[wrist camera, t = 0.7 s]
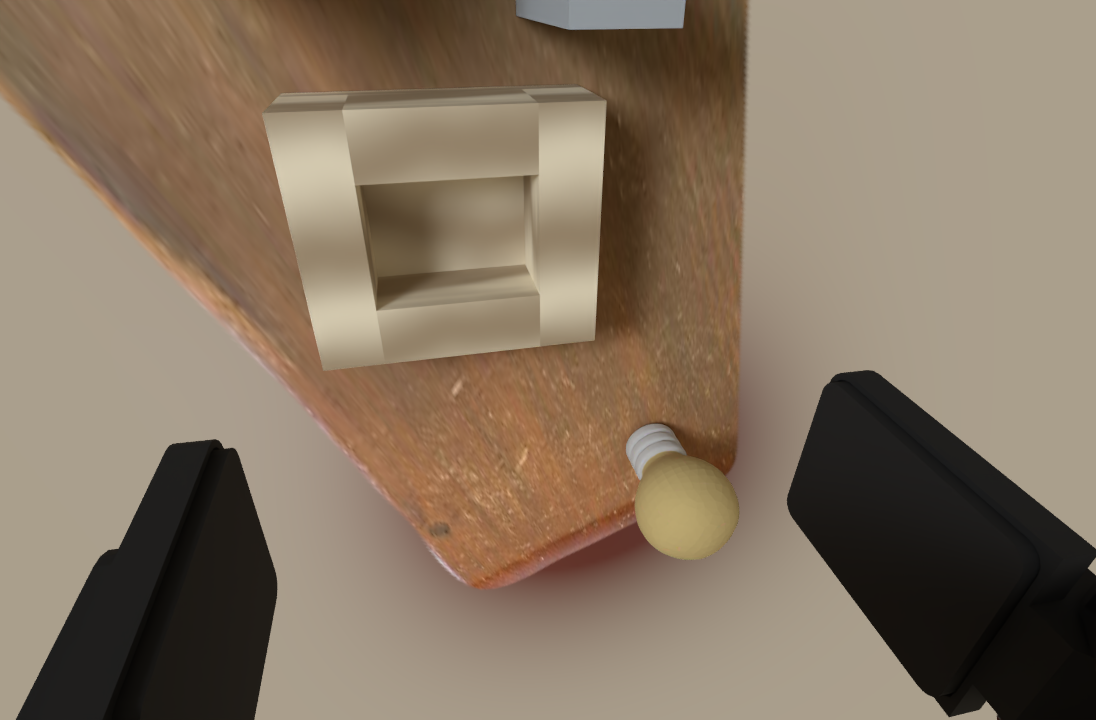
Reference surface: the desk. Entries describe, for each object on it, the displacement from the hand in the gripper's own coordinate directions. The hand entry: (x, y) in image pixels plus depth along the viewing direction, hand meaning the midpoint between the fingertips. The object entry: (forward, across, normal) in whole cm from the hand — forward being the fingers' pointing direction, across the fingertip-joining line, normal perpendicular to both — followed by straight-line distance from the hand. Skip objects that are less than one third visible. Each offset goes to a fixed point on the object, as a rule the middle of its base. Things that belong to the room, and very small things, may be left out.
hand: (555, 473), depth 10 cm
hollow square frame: (+25, 0, +4) cm, 25 cm away
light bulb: (+25, -14, +21) cm, 35 cm away
